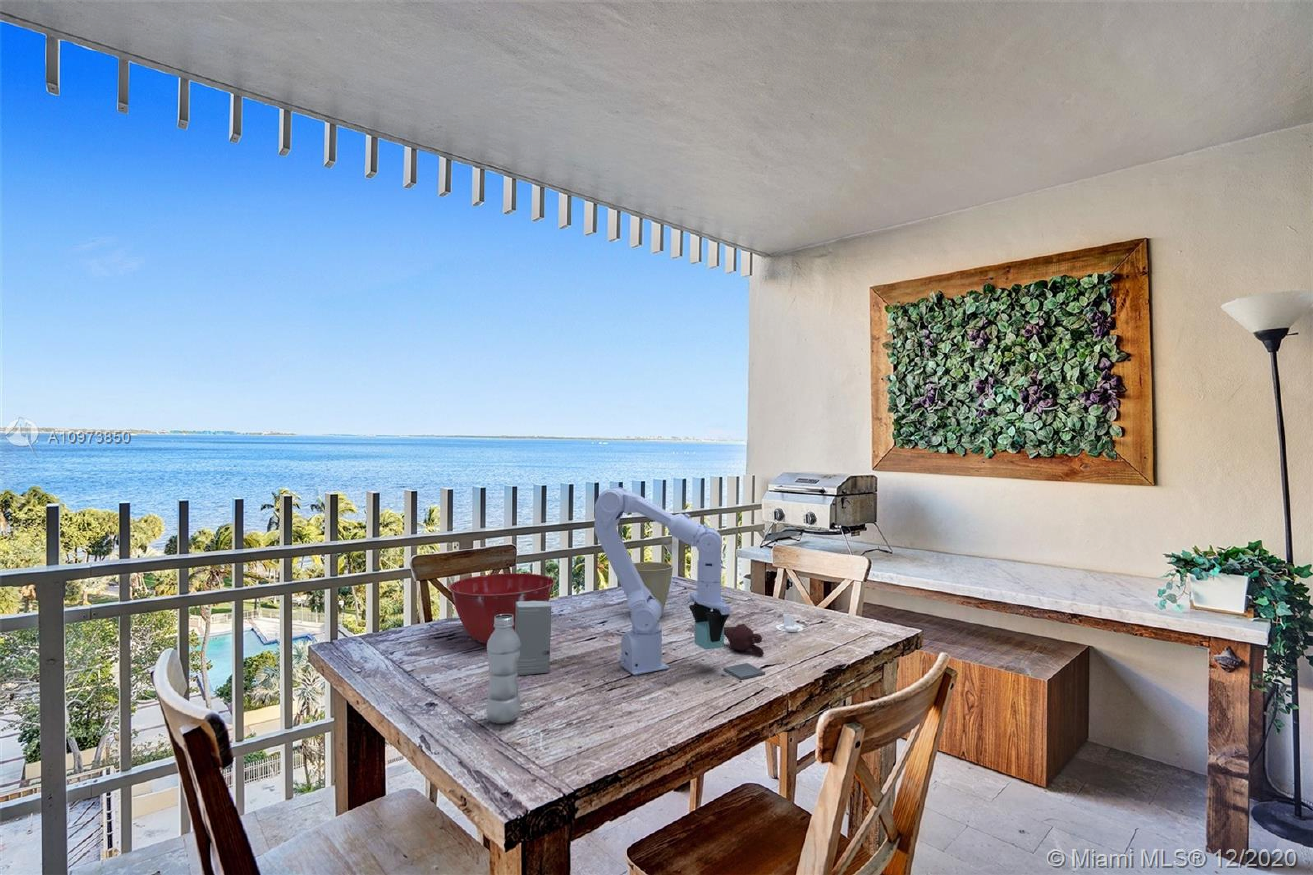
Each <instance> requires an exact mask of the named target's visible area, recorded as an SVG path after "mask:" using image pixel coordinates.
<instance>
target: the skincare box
mask: <svg viewBox="0 0 1313 875" xmlns="http://www.w3.org/2000/svg"><path fill="white" fill-rule="evenodd" d="M551 631H552V605H551V602H550V600H549V601H519V602H516V617H515V632H516V634H517V635H518V637H519V639H520V652H519V659H518V670H517V677H519V676H526V675H527V676H529V675H536V674H548V673H550V670H551V668H550V667H551V666H550V664H551V663H550V662H551V661H550V660H551V637H552V636H551V633H552V632H551Z"/></svg>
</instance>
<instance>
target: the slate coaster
mask: <svg viewBox="0 0 1313 875" xmlns="http://www.w3.org/2000/svg"><path fill="white" fill-rule="evenodd" d="M722 669H723V671H724V672H725V673H727V674H729V675H731V676H733V677H735V678H736V679H738V680H740V681H742V680H747V679H751V678H756V677H761V676H765V675H766V671H765V670H762V669H761V668H759V667H756V666H754V665H752V664H750V663H748V662H744V663H738V664H735V665H729V666H725V667H723V668H722Z"/></svg>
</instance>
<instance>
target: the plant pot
mask: <svg viewBox="0 0 1313 875" xmlns="http://www.w3.org/2000/svg"><path fill="white" fill-rule="evenodd" d="M633 563H634V565H635V567H636V569H637V571H638V573H639V575H640V577H641V579H642V581H643V583H644V585H645V587H646V588H647V589H648V590H649V591H650V592H651V594H652V596H653V597H654V598H655V599H657V600H658V601H659V602H660V604H661V606H662V613H663V612H664V609H665V606H666V603H667V600H668V596H669V591H670V587H671V582H672V576H673V568H674V565H672V564H671V563H666V562H660V561H659V562H658V561H643V562H640V561H638V562H633Z"/></svg>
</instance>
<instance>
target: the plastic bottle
mask: <svg viewBox="0 0 1313 875" xmlns="http://www.w3.org/2000/svg"><path fill="white" fill-rule="evenodd" d="M513 626H514V622H513V615H512V614H500V615H496V616H495V618H494V627H495V630H494V632H493V633H492V635H491V636H490V638H489V640H488V643H487V644H486V651H487V659H488V668H489V669H488V672H489V683H488V694H487V695H488V696H487V698H486V699H487V700H486V704H485V705H486V706H485V711H486V717H487V719H488V720H489V721H490V722H491V723H493V724H496V725H497V724H498V725H499V724H500V725H503V724H508V723H512V722H513V721H515V720H516V719H517V718H518V716H519V715H520V711H521V710H520V709H521V698H520V695H519V686H518V676H517V670H518V659H519V652H520V639H519V637H518V635H517V634H516V632H515V631H514V630H513V628H512V627H513Z"/></svg>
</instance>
